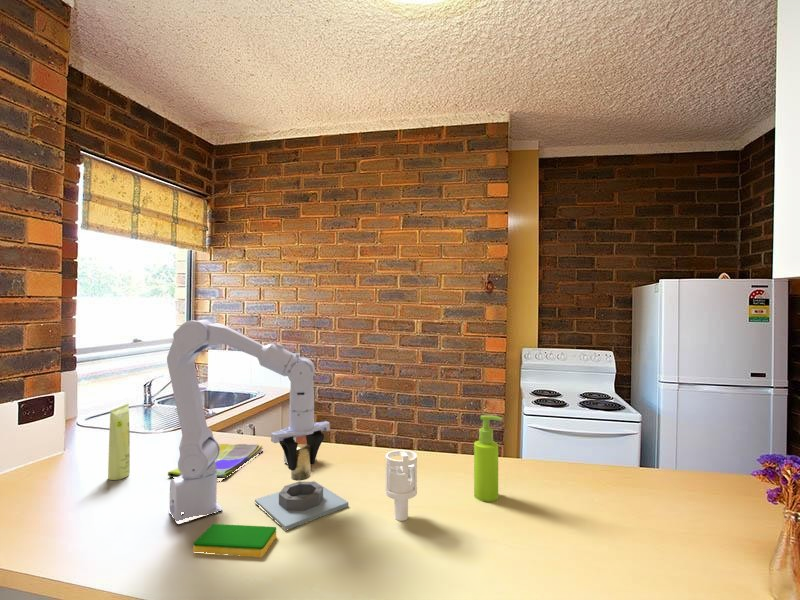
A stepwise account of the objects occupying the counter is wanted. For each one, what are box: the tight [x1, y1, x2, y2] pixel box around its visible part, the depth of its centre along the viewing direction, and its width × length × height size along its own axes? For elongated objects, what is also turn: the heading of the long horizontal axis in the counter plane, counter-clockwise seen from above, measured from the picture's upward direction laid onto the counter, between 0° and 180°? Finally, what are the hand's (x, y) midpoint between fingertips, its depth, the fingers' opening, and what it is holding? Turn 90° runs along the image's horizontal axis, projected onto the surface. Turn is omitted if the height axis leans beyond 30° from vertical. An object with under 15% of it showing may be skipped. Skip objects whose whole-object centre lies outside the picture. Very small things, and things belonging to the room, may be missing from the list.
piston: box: [290, 444, 312, 482], centre depth 98 cm, size 4×4×7 cm
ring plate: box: [254, 480, 349, 531], centre depth 97 cm, size 16×16×4 cm
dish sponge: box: [193, 523, 277, 558], centre depth 81 cm, size 7×14×2 cm, turn 85°
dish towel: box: [167, 443, 264, 480], centre depth 123 cm, size 18×24×3 cm
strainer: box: [385, 449, 418, 522], centre depth 92 cm, size 7×7×15 cm
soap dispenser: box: [473, 414, 503, 503], centre depth 102 cm, size 6×7×20 cm
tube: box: [107, 402, 131, 481], centre depth 113 cm, size 6×5×20 cm
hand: (301, 466), depth 97 cm, fingers closed on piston, 4 cm apart
